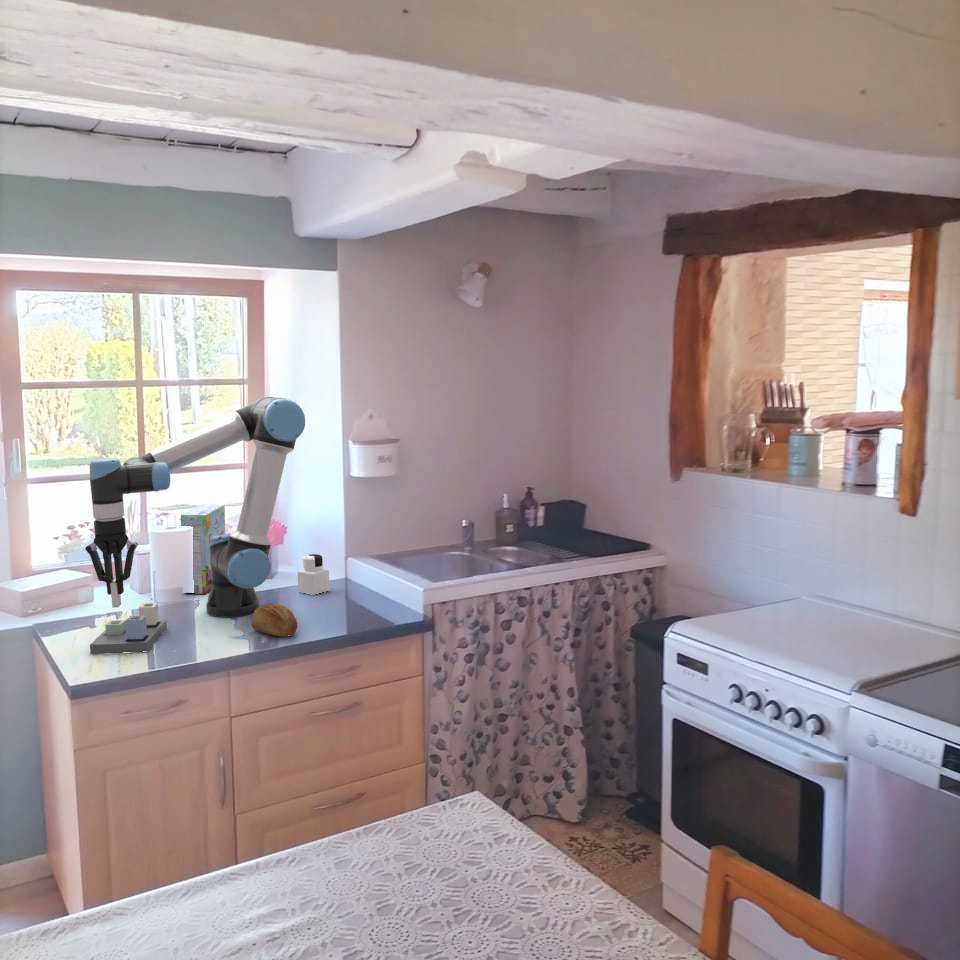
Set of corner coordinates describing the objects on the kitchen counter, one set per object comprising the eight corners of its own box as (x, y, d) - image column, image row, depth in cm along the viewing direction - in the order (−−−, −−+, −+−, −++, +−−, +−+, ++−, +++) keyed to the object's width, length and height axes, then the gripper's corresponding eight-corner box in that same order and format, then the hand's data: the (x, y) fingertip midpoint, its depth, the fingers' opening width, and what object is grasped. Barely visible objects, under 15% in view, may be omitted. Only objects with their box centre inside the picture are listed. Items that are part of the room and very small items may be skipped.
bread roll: (279, 643, 238) (278, 613, 237) (241, 633, 246) (240, 605, 245) (306, 634, 246) (305, 605, 245) (268, 624, 254) (267, 597, 253)
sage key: (126, 638, 242) (125, 619, 241) (122, 642, 238) (121, 623, 237) (111, 638, 241) (110, 619, 240) (106, 643, 237) (105, 624, 237)
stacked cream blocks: (314, 588, 294) (313, 551, 292) (329, 591, 290) (328, 554, 288) (297, 592, 288) (296, 555, 287) (313, 596, 284) (312, 558, 282)
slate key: (146, 634, 236) (145, 614, 235) (142, 638, 232) (141, 619, 231) (131, 634, 236) (130, 615, 235) (126, 639, 232) (125, 619, 231)
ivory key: (158, 620, 248) (157, 602, 247) (154, 625, 244) (154, 606, 243) (143, 621, 247) (142, 602, 247) (139, 625, 243) (138, 606, 243)
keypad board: (166, 628, 250) (166, 620, 250) (147, 652, 231) (146, 642, 230) (114, 630, 249) (114, 621, 249) (90, 654, 229) (89, 644, 229)
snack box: (208, 594, 286) (205, 514, 282) (181, 594, 286) (177, 514, 282) (228, 578, 307) (225, 503, 304) (203, 578, 308) (199, 503, 304)
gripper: (139, 514, 239) (146, 600, 243) (88, 516, 238) (96, 603, 242) (130, 519, 232) (138, 608, 235) (78, 522, 231) (86, 611, 234)
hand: (116, 605), depth 238 cm, fingers closed
